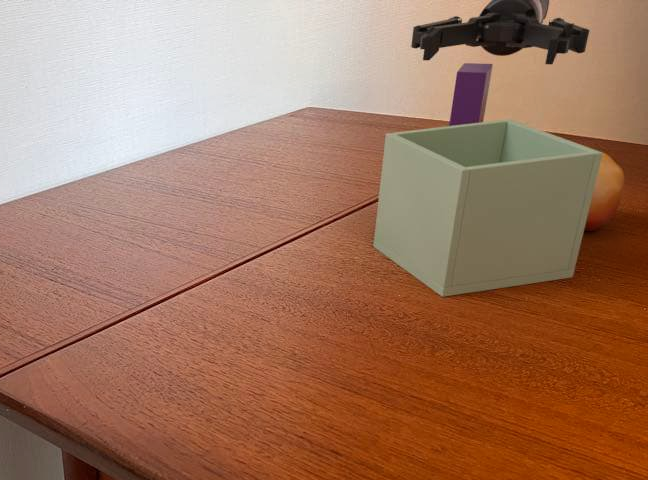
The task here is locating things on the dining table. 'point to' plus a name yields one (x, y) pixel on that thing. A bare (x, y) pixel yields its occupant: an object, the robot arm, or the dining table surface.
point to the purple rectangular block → (470, 94)
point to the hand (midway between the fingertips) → (487, 50)
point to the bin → (484, 205)
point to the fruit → (605, 194)
